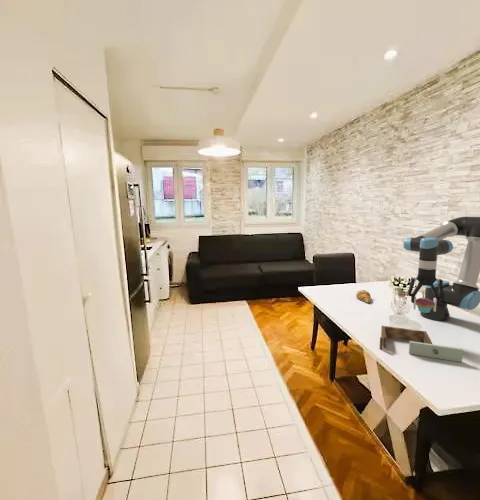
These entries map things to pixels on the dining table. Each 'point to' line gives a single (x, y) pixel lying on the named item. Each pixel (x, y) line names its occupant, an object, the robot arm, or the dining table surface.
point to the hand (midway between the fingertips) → (424, 309)
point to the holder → (403, 335)
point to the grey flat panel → (436, 351)
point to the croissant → (364, 296)
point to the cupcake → (424, 304)
